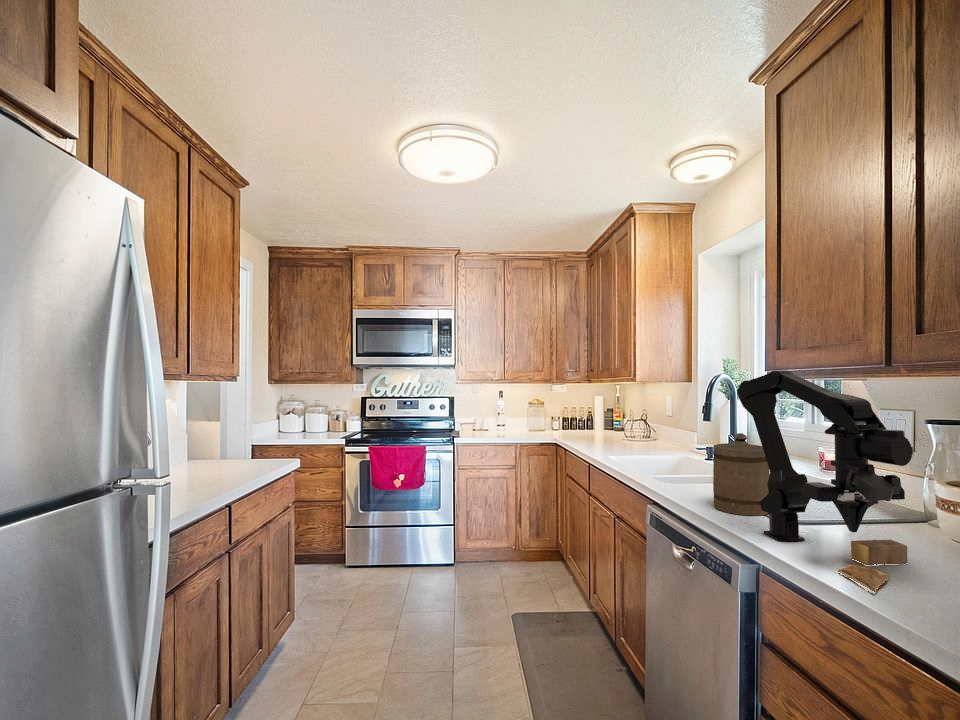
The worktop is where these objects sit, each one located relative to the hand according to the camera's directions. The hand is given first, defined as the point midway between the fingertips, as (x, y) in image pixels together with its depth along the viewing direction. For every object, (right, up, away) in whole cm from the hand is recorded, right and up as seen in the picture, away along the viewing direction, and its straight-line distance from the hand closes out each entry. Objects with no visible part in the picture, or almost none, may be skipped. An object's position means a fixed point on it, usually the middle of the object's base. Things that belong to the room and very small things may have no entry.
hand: (853, 531), depth 109 cm
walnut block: (+1, -5, 0) cm, 5 cm away
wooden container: (-2, -8, +42) cm, 43 cm away
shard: (-3, -7, -10) cm, 12 cm away
